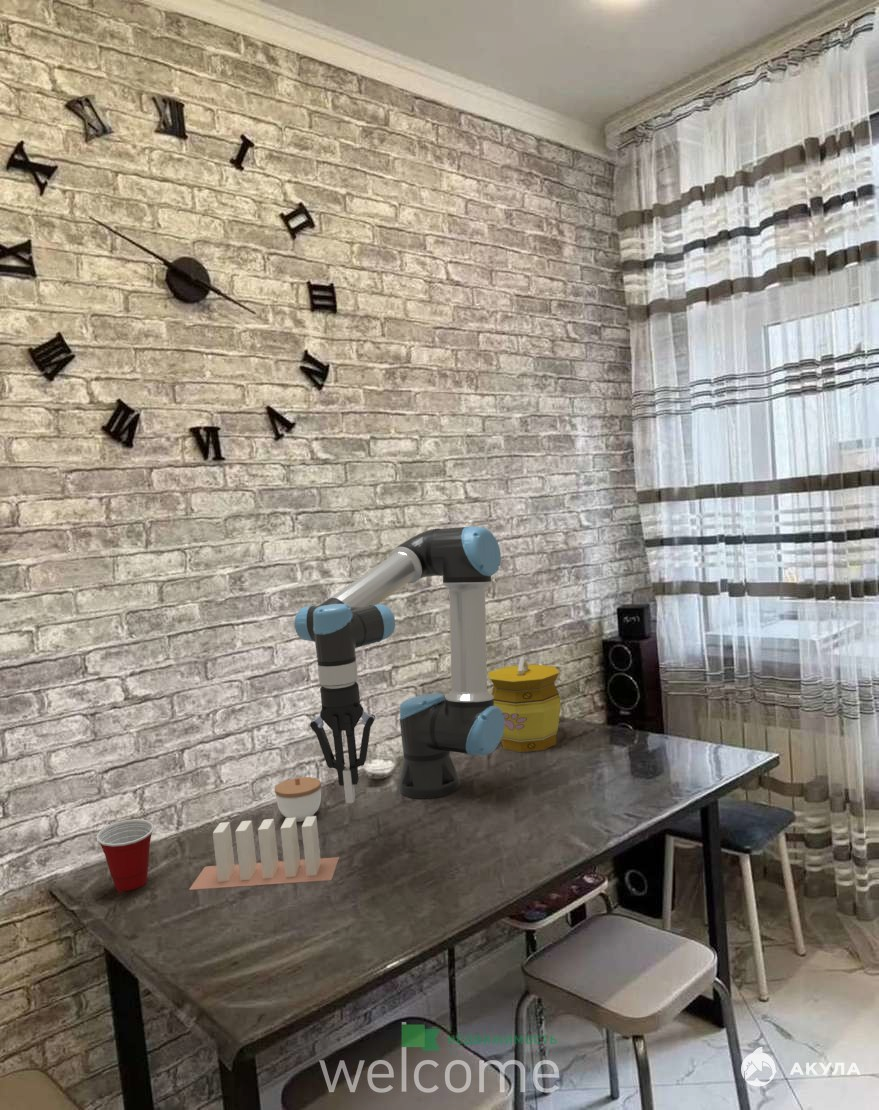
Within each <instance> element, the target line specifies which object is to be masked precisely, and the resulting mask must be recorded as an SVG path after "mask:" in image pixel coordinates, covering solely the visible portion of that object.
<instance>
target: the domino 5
mask: <svg viewBox="0 0 879 1110" xmlns="http://www.w3.org/2000/svg"><path fill="white" fill-rule="evenodd" d="M301 832H302V833H301V834H302V843H303V853H304V854H303V856H304V860H305V865H306V875H307V876H314V875H317V873H318V871H319V868H320V865H321V858H322V857H321V850H320V838H319V829H318V821H317V815H314V816H309V817H306V819H305V821H303V823H302V825H301Z"/></svg>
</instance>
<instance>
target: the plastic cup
mask: <svg viewBox="0 0 879 1110" xmlns="http://www.w3.org/2000/svg"><path fill="white" fill-rule="evenodd" d="M154 829H155V826H154V824H153V822H151V821H149V820H148V819H147V820H146V819H139V818H138V819H126V820H122V821H118V822H114V823H112V824H109V825H107V826H105V827H103V828H102V829H101V830H99V831H98V833H97V834H96V836H95V837H96V840H97V842H98V844H100V847H101V849H102V852H103V854H104V857H105V859H106V863H107V867H108V869H109V873H110V876H111V878H112V881H113V884H114V888H115V890H116V892H117V891H118V892H120V893H119V894H121V893H122V892H130V891H131V892H132V891H134V890H137V889H139V888H141V887H143V886H144V885H146V884H147V882H148V873H149V871H148V870H149V866H150V865H149V864H150V863H149V862H150V849H151V848H150V846H151V840H152V839H151V838H152V834H153V831H154ZM118 892H117V893H118Z"/></svg>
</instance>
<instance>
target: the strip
mask: <svg viewBox="0 0 879 1110" xmlns="http://www.w3.org/2000/svg"><path fill="white" fill-rule="evenodd" d="M320 858H321V865H320V868H319V871H318V873H317V875H314V876H307V875H306V865H305V859H300V863H301V866H300V868H299V870H298V872H297V875H296V877H286V876H285V866H284V860H278V864H279V867H278V869H277V871H276V873H275V875H274V877H273V878H267V879H263V873H262V864H261V862H256V864H257V869H256V871H255V873H254V874H253V876H252V878H251V880H240V871H239V863H237V864H235V863H234V864H235V871H234V872H233V874H232V876H231V877H230V879H229V881H224V882H218V877H217V868H216V865H210V866H209V865H207V866H204V867H203V869H201V870H202V871H200V873H199V874H198V876H197V877H196V879H195V880H194V882H192V885H191V886H190V887H189V888H188V890H189V891H190V890H191V891H195V890H206V889H207V890H208V889H221V888H222V889H224V888H237V887H250V886H251V887H252V886H266V885H279V884H280V885H282V884H292V883H293V884H296V883H308V882H309V883H311V882H322V881H323V882H324V881H332V879H333V877H334V874H335V871H336V868H337V866H338V862H339V860H340V856H337V857H336V856H335V857H320Z"/></svg>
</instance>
